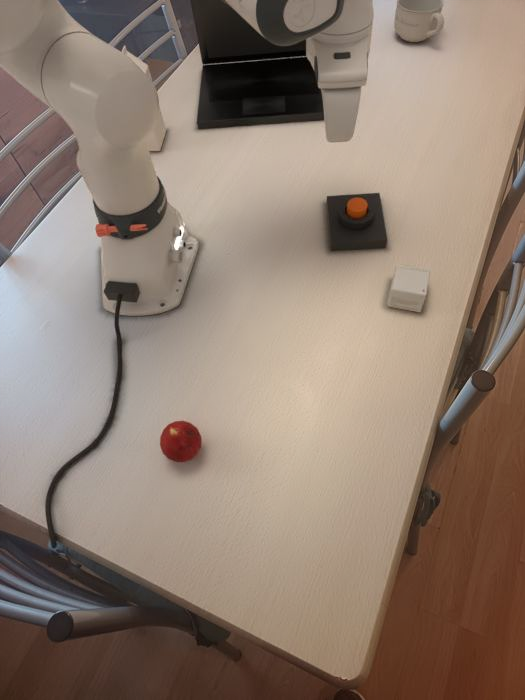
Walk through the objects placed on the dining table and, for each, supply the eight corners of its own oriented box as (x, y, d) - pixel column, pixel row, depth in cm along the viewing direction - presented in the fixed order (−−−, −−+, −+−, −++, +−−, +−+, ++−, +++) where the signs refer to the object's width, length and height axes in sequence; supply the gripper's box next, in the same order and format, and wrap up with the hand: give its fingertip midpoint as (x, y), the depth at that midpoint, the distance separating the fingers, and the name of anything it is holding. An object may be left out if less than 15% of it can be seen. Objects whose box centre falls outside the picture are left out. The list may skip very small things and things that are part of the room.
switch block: (385, 248, 91) (388, 232, 87) (330, 251, 91) (331, 236, 88) (378, 201, 97) (380, 185, 93) (326, 204, 97) (326, 188, 94)
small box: (425, 286, 86) (431, 268, 81) (420, 313, 83) (426, 296, 79) (391, 280, 87) (396, 262, 83) (386, 307, 84) (390, 289, 80)
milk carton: (166, 131, 113) (142, 44, 96) (160, 152, 109) (134, 66, 93) (136, 131, 114) (107, 45, 97) (129, 152, 110) (97, 66, 94)
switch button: (367, 218, 90) (368, 211, 88) (347, 219, 90) (348, 212, 89) (365, 203, 92) (366, 196, 90) (345, 205, 92) (346, 197, 90)
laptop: (332, 119, 110) (332, 111, 109) (198, 129, 112) (196, 121, 111) (325, 62, 121) (325, 54, 120) (203, 72, 123) (202, 64, 122)
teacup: (385, 30, 126) (389, -6, 119) (424, 19, 127) (431, -16, 120) (409, 58, 119) (415, 23, 112) (451, 47, 120) (459, 11, 113)
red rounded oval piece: (206, 430, 76) (195, 409, 69) (205, 467, 73) (194, 449, 66) (168, 432, 76) (154, 412, 69) (165, 470, 73) (150, 452, 66)
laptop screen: (329, -54, 100) (329, -56, 101) (182, -40, 102) (182, -42, 103) (325, 54, 120) (325, 52, 120) (202, 65, 122) (202, 62, 122)
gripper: (311, 4, 74) (309, 92, 86) (319, 84, 63) (316, 173, 75) (354, 1, 74) (346, 90, 85) (369, 81, 63) (358, 171, 75)
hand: (332, 130), depth 80 cm, fingers closed
